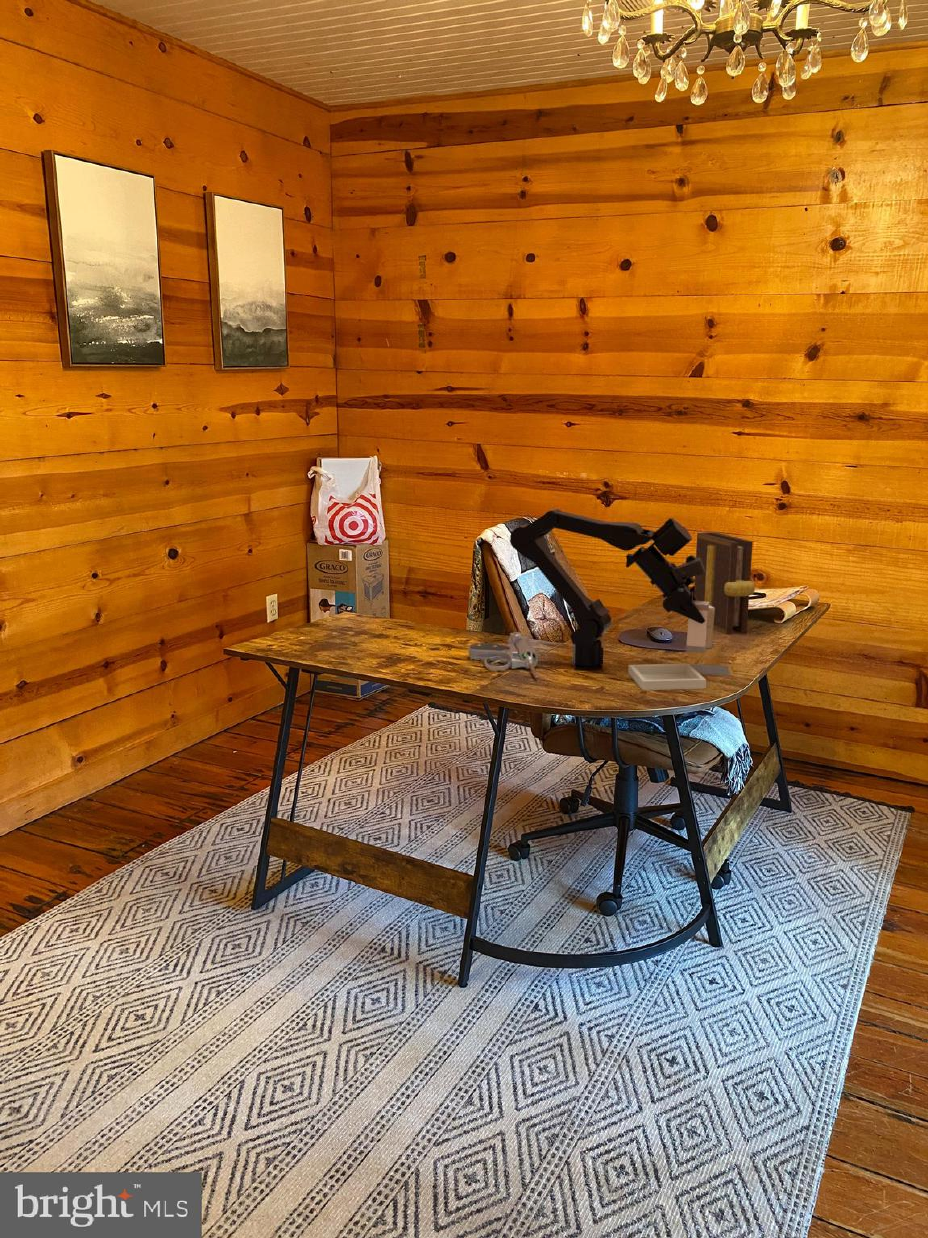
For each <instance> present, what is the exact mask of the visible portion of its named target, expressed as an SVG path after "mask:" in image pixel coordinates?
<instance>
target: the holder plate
mask: <svg viewBox="0 0 928 1238" xmlns="http://www.w3.org/2000/svg"><path fill="white" fill-rule="evenodd" d="M688 664H689V663H688ZM689 665H690V666H692V667H693V668H694V669H695V670H696V671H697V672H698V673H699V674H701V675H708V676H711V675H712V676H730V677H731V672H730V669H729V666H728V665H711V664H696V663H695V664H691V663H690V664H689Z"/></svg>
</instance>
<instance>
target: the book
mask: <svg viewBox="0 0 928 1238" xmlns="http://www.w3.org/2000/svg"><path fill="white" fill-rule="evenodd" d="M753 544H754V541H752V540H749V539H748V540H747V539H744V538H740V537H736V536H732V535H727V534H725V533H720V532H696V546H695V547H696V548H695V549H696V550H695V557H696V558H701V560H702V562H703V565H704V568H705V573H704V574H702V575H699V576H698V575H696V576H694V579H695V582H694V583H693V586H694V585H695V597H696V598H697V600H698V601H706V602H709V605H710V606H712V607H714V608H715V611H714V624H713V631H716V632H719V633H722V634H724V635H726V636H727V635H728V636H729V635H730V636H731V635H733V631H734V632H737V633H740V634H747V632H748V618H749V617H748V616H749V604H750V596H752V595H754V594H755V589H756V588H755V587H756V585H755V583H754V582H753V581H752V580H751V575H752V559H753Z"/></svg>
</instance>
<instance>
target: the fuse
mask: <svg viewBox="0 0 928 1238" xmlns="http://www.w3.org/2000/svg"><path fill="white" fill-rule="evenodd" d="M693 602H694V604H695V605H696V607H697V608H698V610H699V611H700V613H701V614H702V616H703V618H704V619H705V622H704V623H702V624H701V623H698V622H696V621H694V620H692V619H690V618H688V617H687V618H688V620H687V621H688V622H687V632H686V633H687V635H686V636H687V637H686V643H685V644H686V645H685V652H686V653H687V652H688V653H697V654H705V653H706V649H707V648H706V632H707V619H708V608H709V602H706V601H693Z"/></svg>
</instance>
